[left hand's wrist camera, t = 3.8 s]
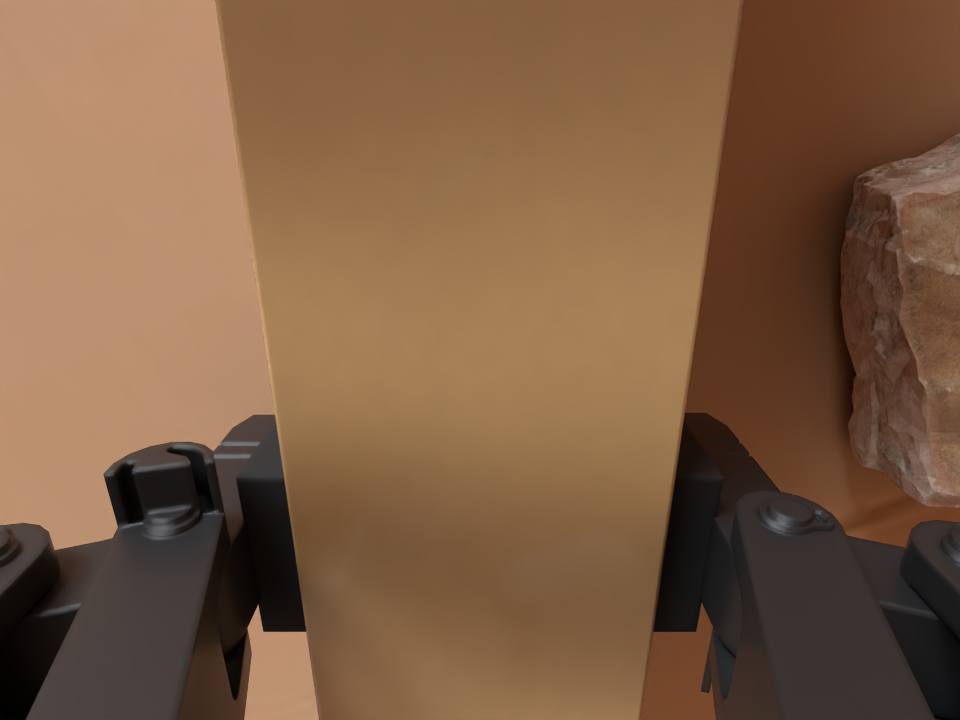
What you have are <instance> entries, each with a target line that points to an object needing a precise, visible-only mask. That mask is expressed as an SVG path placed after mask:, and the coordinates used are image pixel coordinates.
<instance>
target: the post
mask: <svg viewBox="0 0 960 720" xmlns="http://www.w3.org/2000/svg"><path fill="white" fill-rule="evenodd" d="M215 3H216V10H217V17H218V23H219V30H220V37H221V44H222V51H223V58H224V65H225V72H226V79H227V86H228V93H229V100H230V107H231V113H232V120H233V127H234V134H235V141H236V148H237V155H238V162H239V169H240V176H241V183H242V190H243V196H244V203H245V210H246V217H247V224H248V231H249V238H250V245H251V252H252V259H253V266H254V273H255V279H256V286H257V293H258V300H259V307H260V314H261V321H262V328H263V335H264V342H265V349H266V356H267V362H268V369H269V376H270V383H271V390H272V397H273V404H274V411H275V418H276V425H277V432H278V439H279V446H280V452H281V459H282V466H283V473H284V480H285V487H286V494H287V501H288V508H289V515H290V522H291V529H292V535H293V542H294V549H295V556H296V563H297V570H298V577H299V584H300V591H301V598H302V605H303V612H304V618H305V625H306V632H307V639H308V646H309V653H310V660H311V667H312V674H313V681H314V688H315V695H316V701H317V708H318V715H319V720H640V719H641V712H642V705H643V698H644V691H645V685H646V678H647V671H648V664H649V657H650V650H651V643H652V636H653V629H654V622H655V615H656V608H657V601H658V594H659V588H660V581H661V574H662V567H663V560H664V553H665V546H666V539H667V532H668V525H669V518H670V511H671V504H672V497H673V491H674V484H675V477H676V470H677V463H678V456H679V449H680V442H681V435H682V428H683V421H684V414H685V407H686V400H687V394H688V387H689V380H690V373H691V366H692V359H693V352H694V345H695V338H696V331H697V324H698V317H699V310H700V304H701V297H702V290H703V283H704V276H705V269H706V262H707V255H708V248H709V241H710V234H711V227H712V220H713V213H714V207H715V200H716V193H717V186H718V179H719V172H720V165H721V158H722V151H723V144H724V137H725V130H726V123H727V116H728V110H729V103H730V96H731V89H732V82H733V75H734V68H735V61H736V54H737V47H738V40H739V33H740V26H741V19H742V13H743V6H744V0H215Z"/></svg>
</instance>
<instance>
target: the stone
mask: <svg viewBox="0 0 960 720" xmlns="http://www.w3.org/2000/svg"><path fill="white" fill-rule="evenodd" d="M853 191H854V198H853V201H852V205H851V208H850V211H849V214H848V217H847V220H846V222H845V231H846V236H845V239H844V242H843V246H842V249H841V262H840V263H841V300H840V305H841V310H842V317H843V328H844V335H845V341H846V344H847V347H848V350H849V353H850V356H851V359H852V363H853V366H854V369H855V372H856V374H857V375H856V377H855V378H854V380H853V388H854V389H853V393H852V397H851V398H852V402H853V408H854V412H853V414H852V416H851V418H850V420H849V423H848V428H849V434H850V445H851V448H852V451H853V453H854V456H855V459H856V461H857V462H858V463H859V464H860V465H861V466H863V467H866V468H873V469H876V470H878V471H881V472H883V473H885V474H886V475H887V476H888V477H889V478H890V479H891V480H892V481H893V482H894V483H895V485H897V486H898V487H899V488H900V489H901V490H903V491H904V492H905V493H906V494H908V495H909V496H910V497H912V498H913V499H915V500H916V501H917V502H919V503H921V504H924V505H926V506H930V507H958V508H959V507H960V134H956V135H955V136H953V137H952V138H950V139H949V140H947V141H946V142H944V143H943V144H941V145H939V146H937V147H935V148H933V149H931V150H930V151H928V152H926V153H924V154H922V155H920V156H918V157H916V158H906V159H902V160H898V161H894V162H890V163H886V164H883V165H881V166H878V167H876V168H873V169H871V170H868V171H866V172H864V173H863V174H861V175H860V176H858V177H857V178H856V180H855V182H854V185H853Z"/></svg>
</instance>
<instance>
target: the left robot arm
mask: <svg viewBox="0 0 960 720" xmlns="http://www.w3.org/2000/svg"><path fill="white" fill-rule="evenodd" d="M104 478H105V482H106V485H107V489H108V492H109V496H110V500H111V503H112V507H113V510H114V514H115V518H116V521H117V525H118V528H117V531H116V533H115V535H114V537H113V538H111V539H108V540H104V541H99V542H94V543H89V544H84V545H79V546H74V547H69V548H64V549H59V550H54V547H53V544H52V540H51V537H50V534H49V532H48V531H47V530H45V529H44V528H43V527H41V526H40V525H34V524H27V523H19V524H10V525H0V720H244V715H245V707H246V698H247V689H248V681H249V672H250V663H251V655H252V653H251V646H250V640H249V635H248V630H247V628H248V625H249V623H250V621H251V619H252V617H253V614H254V612H255V610H256V608H257V606H258V604H259V609H260V615H261V621H262V626H263V632H306V625H305V618H304V612H303V605H302V598H301V591H300V584H299V577H298V570H297V563H296V556H295V549H294V542H293V535H292V529H291V522H290V515H289V508H288V501H287V494H286V487H285V480H284V473H283V466H282V459H281V452H280V446H279V439H278V432H277V425H276V418H275V415H253V416H251V417H250V418H248V419H246V420H245V421H243V422H242V423H240V424H238V425H237V426H235V427H233V428H232V429H231V431H230V432H229V433H228V434H227V436H226V437H225V438H224V439H223V441H222V442H221V446H218V447H217V448H216V449H215V451H214V452H213V451H212V450H211V449H209V448H208V447H207V446H205V445H202V444H198V443H193V442H170V443H165V444H160V445H155V446H150V447H147V448H145V449H142V450H139V451H136V452H134V453H131V454H129V455H127V456H125V457H124V458H122V459H120V460H119V461H117V462H115V463H114V464H113V465H112V466H111V467H110V468H109V469H108V470H107V471H106V472H105V473H104ZM701 602H702V604H703V606H704V608H705V610H706V612H707V614H708V617H709V619H710V621H711V623H712V625H713V630H712V635H711V640H710V645H709V650H708V655H707V661H706V666H705V671H704V676H703V682H702V688H701V691H702V692H707V693H709V691H710V686H711V681H712V688H713V697H714V705H715V714H716V720H960V522H948V521H940V520H935V521H928V522H921V523H919V524H918V525H917V526H915V527H914V528H913V529H912V530H911V533H910V536H909V539H908V542H907V545H906V548H905V547H899V546H894V545H889V544H884V543H879V542H874V541H869V540H864V539H859V538H855V537H851V536H847V535H846V534H845V532H844V529H843V527H842V526H841V524H840V523H839V522H838V521H837V519H836V518H835V517H834V516H833V515H832V514H831V513H830V512H828V511H827V510H825V509H824V508H822V507H821V506H819V505H818V504H816V503H814V502H811V501H809V500H807V499H804V498H802V497H800V496H796V495H792V494H788V493H783V492H780V491H779V489H778V488H777V487H776V486H775V484H774V483H773V482H772V481H771V479H770V478H769V477H768V476H767V474H766V473H765V472H764V471H763V470H762V468H761V467H760V466H759V465H758V463H757V462H756V461H755V460H754V458H753V457H752V456H749V452H748V451H747V450H746V449H745V447H744V446H743V445H742V444H739V440H738V439H737V437H736V436H735V435H734V434H733V433H732V431H731V430H730V429H729V428H728V426H727V425H725V424H723V423H722V422H720V421H718V420H717V419H715V418H713V417H712V416H710V415H708V414H707V413H685V414H684V421H683V428H682V435H681V442H680V449H679V456H678V463H677V470H676V477H675V484H674V491H673V497H672V504H671V511H670V518H669V525H668V532H667V539H666V546H665V553H664V560H663V567H662V574H661V581H660V588H659V594H658V601H657V608H656V615H655V622H654V629H653V632H696V629H697V624H698V618H699V613H700V607H701Z"/></svg>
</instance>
